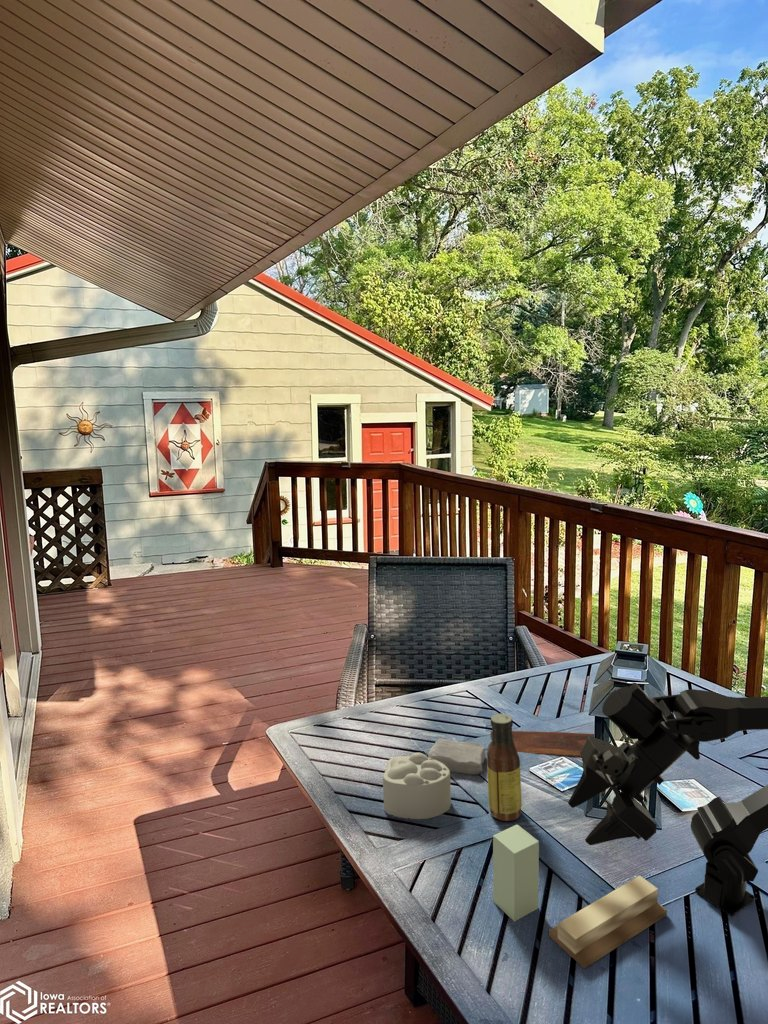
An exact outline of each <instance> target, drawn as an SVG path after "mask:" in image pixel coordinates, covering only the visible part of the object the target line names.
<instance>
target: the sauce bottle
mask: <svg viewBox="0 0 768 1024" xmlns="http://www.w3.org/2000/svg"><path fill="white" fill-rule="evenodd" d="M490 725H491V730H492V731H491V732H492V740H491V741H490V743H489V744H488V747H487V751H486V756H487V757H486V758H487V760H486V761H487V764H486V766H487V771H486V772H487V789H488V790H487V791H488V806H489V808H490V809H489V811H490V814H491V816H492V817H494V818H495V819H497V820H499V821H503V822H513V821H515V820H517V819H518V818H520V816H521V814H522V807H523V806H522V805H523V803H522V801H523V800H522V779H521V761H520V759H521V758H520V756H519V754H518V753H519V752H517V750H516V747H515V744H514V741H513V737H512V731H513V728H512V727H513V725H514V724H513V718H512V716H510V715H509V714H507V713H496V714H493V715H492V716H491V717H490Z"/></svg>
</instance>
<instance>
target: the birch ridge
mask: <svg viewBox="0 0 768 1024" xmlns="http://www.w3.org/2000/svg"><path fill="white" fill-rule="evenodd" d="M658 894H659V888H658V887H657V886H655V885H653V884H652V883H651V882H650V881H648V880H646V879H645V878H644V877H642V876H641V875H638V876H637V877H635V878H633V879H631V880H629V881H627V882H626V883H623V885H621V886H619V887H617V888H615V889H614V890H613V891H611V892H609V893H608V894H606V895H604V896H602V897H601V898H598V899H597V900H595V901H594V902H592V903H590V904H589V905H587V906H585V907H584V908H581V909H580V910H578V911H577V912H575V913H573V914H572V915H569V916H568V917H567V918H565V919H562V920H561V921H559V922H558V923H557V925H555V926H554V927H552V928H550V929H549V930H548V936H549V938H551V940H553V942H555V943H556V944H557V945H558V946H560V947H561V948H562V949H563V950H564V952H566V953H567V954H568V955H569V956H570V957H571V958H572V959H574V960H575V962H577V963H578V964H579V965H580V967H582V968H583V969H586V968H588V967H589V966H590V965H593V964H594V963H596V962H597V961H598V960H600V959H601V958H603V957H604V956H606V955H608V954H609V953H611V952H612V951H614V950H616V949H617V948H618V947H620V946H622V945H623V944H625V943H626V942H628V941H629V940H631V939H632V938H634V937H635V936H636V935H638V934H640V933H641V932H643V931H644V930H646V929H648V928H650V927H651V926H652V925H654V924H655V923H657V922H659V921H660V920H661V919H663V918H665V917H666V916H667V914H668V910H667V909H666V908H665V906H663V905H661V904H660V903H658V897H659V896H658Z"/></svg>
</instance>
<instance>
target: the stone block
mask: <svg viewBox="0 0 768 1024" xmlns="http://www.w3.org/2000/svg"><path fill="white" fill-rule="evenodd" d="M434 742H435V743H434V744H433V745H432V746H431V748H430V749H429V752H428V755H427V758H432V759H434V760H437V761H439V762H441V763H443V764H444V765H445V766H446V767H447V768H448V769H449V771H450V773H455V774H464V775H470V776H474V775H475V776H476V775H481V774H482V772H483V764H484V762H485V760H486V749H485V745H482V744H481V743H479V742H472V741H462V742H461V741H455V740H449V739H446V738H438V739H437V740H436V741H434Z"/></svg>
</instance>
